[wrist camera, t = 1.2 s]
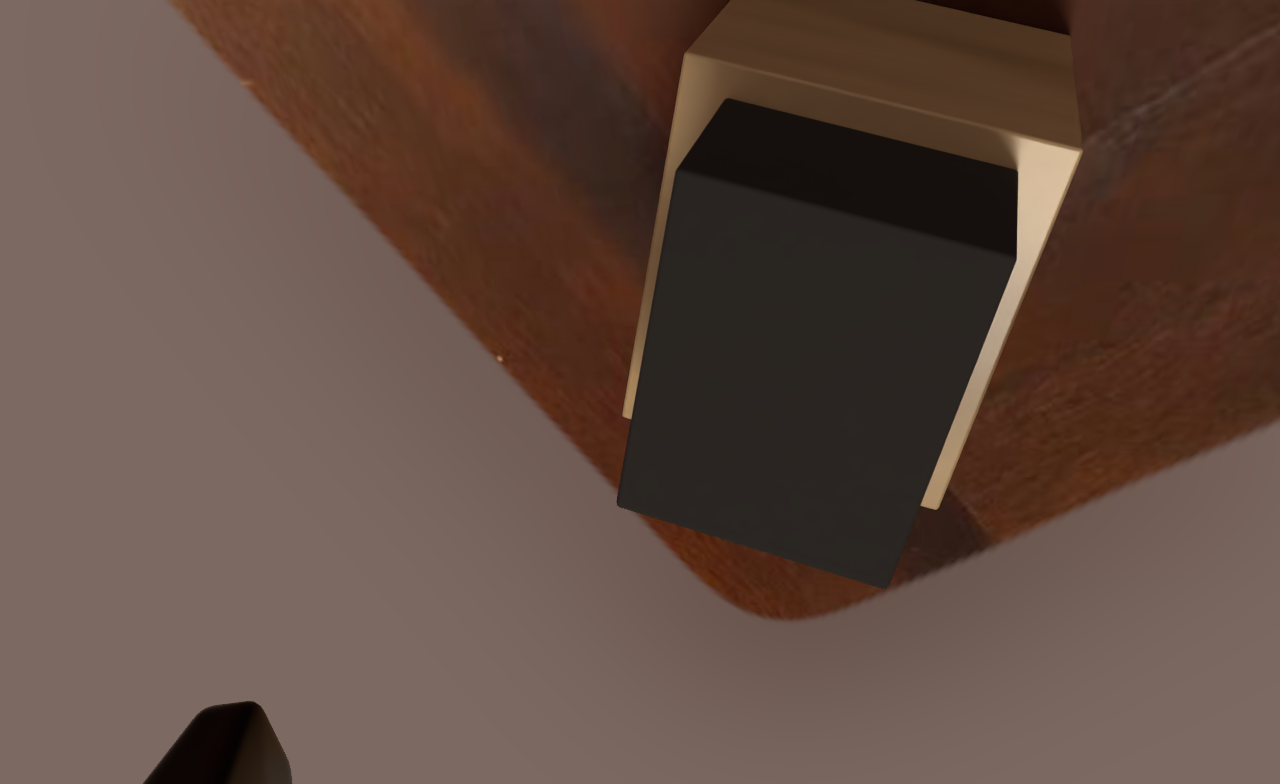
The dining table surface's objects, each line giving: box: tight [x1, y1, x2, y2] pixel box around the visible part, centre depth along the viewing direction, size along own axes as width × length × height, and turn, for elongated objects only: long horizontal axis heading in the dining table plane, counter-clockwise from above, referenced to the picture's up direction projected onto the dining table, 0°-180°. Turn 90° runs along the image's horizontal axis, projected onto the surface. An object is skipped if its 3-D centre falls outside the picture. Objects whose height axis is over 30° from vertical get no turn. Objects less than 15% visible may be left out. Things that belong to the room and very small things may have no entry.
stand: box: [622, 0, 1083, 510], centre depth 21 cm, size 7×6×6 cm
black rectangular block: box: [617, 98, 1018, 589], centre depth 17 cm, size 6×4×3 cm
